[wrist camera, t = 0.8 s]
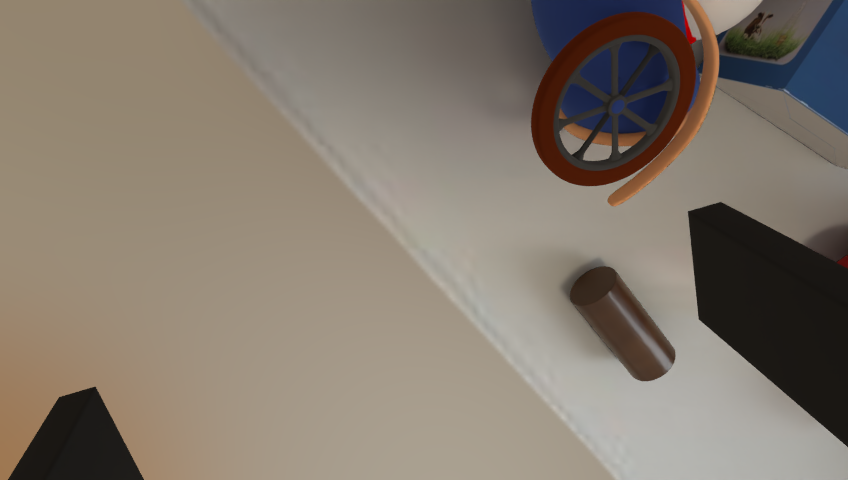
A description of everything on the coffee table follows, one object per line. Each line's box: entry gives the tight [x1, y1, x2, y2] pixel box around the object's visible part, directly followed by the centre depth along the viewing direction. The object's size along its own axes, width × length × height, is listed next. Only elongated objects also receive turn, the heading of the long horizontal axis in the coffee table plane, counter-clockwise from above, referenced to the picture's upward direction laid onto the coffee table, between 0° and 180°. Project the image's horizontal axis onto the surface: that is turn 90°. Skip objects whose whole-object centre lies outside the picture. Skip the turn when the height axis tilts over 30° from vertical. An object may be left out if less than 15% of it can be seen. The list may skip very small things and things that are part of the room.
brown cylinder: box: [570, 266, 675, 381], centre depth 34 cm, size 6×3×3 cm, turn 39°
